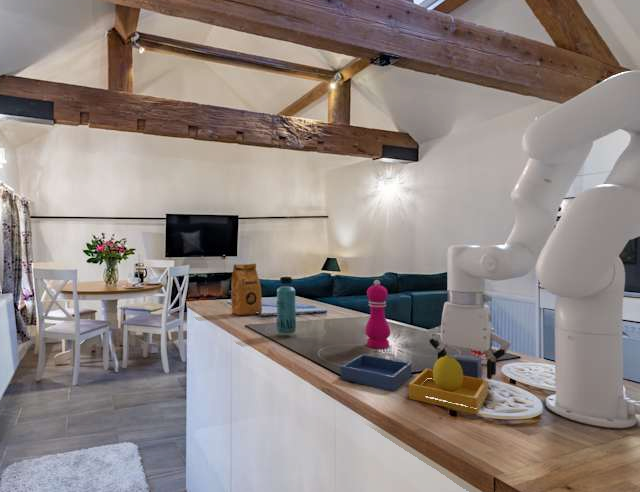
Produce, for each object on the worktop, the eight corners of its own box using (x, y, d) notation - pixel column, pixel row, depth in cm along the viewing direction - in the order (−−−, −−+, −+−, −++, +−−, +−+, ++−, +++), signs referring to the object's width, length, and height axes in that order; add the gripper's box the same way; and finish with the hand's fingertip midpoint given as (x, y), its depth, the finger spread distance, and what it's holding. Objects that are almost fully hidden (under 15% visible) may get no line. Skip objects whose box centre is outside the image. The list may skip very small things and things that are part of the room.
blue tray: (411, 375, 96) (411, 363, 96) (393, 391, 87) (393, 377, 87) (362, 365, 104) (362, 354, 104) (340, 379, 95) (340, 366, 95)
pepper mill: (364, 347, 120) (363, 280, 121) (366, 341, 127) (365, 278, 127) (390, 350, 118) (389, 281, 118) (390, 343, 124) (389, 279, 125)
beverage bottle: (282, 332, 141) (282, 275, 141) (299, 335, 137) (299, 276, 137) (273, 336, 136) (272, 277, 136) (290, 339, 132) (289, 278, 132)
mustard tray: (488, 394, 84) (487, 380, 84) (477, 414, 75) (476, 398, 75) (426, 381, 92) (425, 368, 92) (409, 398, 83) (408, 383, 83)
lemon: (467, 400, 80) (466, 359, 80) (437, 398, 81) (436, 358, 81) (458, 389, 86) (457, 352, 86) (430, 388, 87) (429, 350, 87)
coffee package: (264, 315, 173) (263, 263, 173) (237, 317, 169) (236, 264, 169) (255, 311, 183) (254, 262, 183) (229, 313, 178) (228, 263, 178)
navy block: (481, 379, 93) (481, 357, 93) (477, 385, 89) (477, 362, 89) (457, 374, 96) (457, 353, 96) (452, 380, 93) (452, 358, 93)
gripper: (512, 300, 90) (512, 376, 91) (430, 293, 101) (430, 361, 102) (508, 304, 85) (508, 386, 85) (421, 296, 96) (421, 369, 96)
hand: (465, 372), depth 93 cm, fingers open, 9 cm apart
